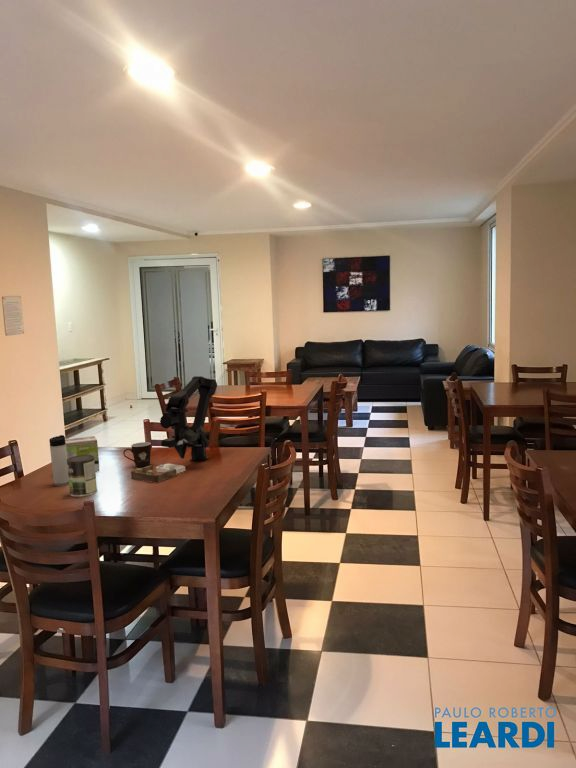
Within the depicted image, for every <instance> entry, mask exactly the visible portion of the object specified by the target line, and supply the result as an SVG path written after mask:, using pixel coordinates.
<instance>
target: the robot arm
mask: <svg viewBox="0 0 576 768" xmlns="http://www.w3.org/2000/svg"><path fill="white" fill-rule="evenodd" d="M217 387H218V382H217V381H216V379H211V378H207V377H204V376H202V375H201V376H200V375H199V376H197V375H196V376H193V377H192V378H191V380H190V381H189V382H188V383H187V384H185V386H184V387H183V388H182V389H181V390H180V391H177V392H175V393H173V394H172V395H170V397H169V398H168V401H167V404H166V408H165V411H164V412H163V413H162V414H163V415H162V416H161V417H160V419H159V423H160V425H161V427H162V428H163V429H166V430H167V429H170V428H171V430H173V435H171V438H169V437H168V438H165V439H162V440H161V442H160V443H161V445H160V446H161V447H165V448H174V449H175V451H176V452H177V454H178V455H179V457H180V459H185V456H186V451H187V448H190V450H191V451H190V455H191V456H190V457H191V458H190V459H189V461H192V462H199V463H201V462H204V461H205V460H208V459H210V458H209V457H207V448H208V447H209V445H210V441H209V439H208V438H207V437H206V430H205V428H204V427H205V422H206V417H207V413H208V409H209V406H210V400H211V398H212V397H213V396H214V395H215V394H216V391H217ZM196 392H198V394H199V398H198V402H197V407H196V410H195V415H194V419H193V422H192V425H191V426H189V425H188V424H187V417H186V416H187V415H186V414H187V413H188V412H189V410H188V408H186V407H188V404H189V403H190V398H191V397H192V396H193V395H194V394H195V393H196Z"/></svg>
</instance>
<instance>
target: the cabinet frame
mask: <svg viewBox="0 0 576 768" xmlns="http://www.w3.org/2000/svg"><path fill="white" fill-rule="evenodd" d="M130 475H131V479H132V478H134V479H133V480H137V479H139V480H138V481H143V480H144V481H143V482H148V481H152V482H151V483H154V482H159V481H161V482H163V481H162V480H164V479H167V478H170V479H172V478H171V477H173V478H175V477H177V475H178V474H176V469H172V470H169V471H166V472H163V473H158V474H155V470H154V465H152V464H150V466H147V467H144V468H135V469H134V470H131V471H130ZM174 476H175V477H174ZM167 480H168V479H167ZM164 481H165V480H164ZM159 483H160V482H159Z"/></svg>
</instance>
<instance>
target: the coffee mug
mask: <svg viewBox="0 0 576 768" xmlns="http://www.w3.org/2000/svg"><path fill="white" fill-rule="evenodd" d="M130 446H131V448H125V449H124V450H123V453H122V454H123V456H124V457H125V458H126V459H128V460H130V461H133V463H134V464H135V465H134V466H135V468H136V467H137V468H140V469H141V468H144V467H147V466H150V465H151V452H152V451H151V446H152V443H151V442H145V441H141V442H136V443H132V444H131V445H130ZM127 451H131V454H132V456H133V458H130V457H129V456H127V455H126V454H125V453H126V452H127ZM137 468H136V469H137Z"/></svg>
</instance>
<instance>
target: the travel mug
mask: <svg viewBox="0 0 576 768" xmlns="http://www.w3.org/2000/svg"><path fill="white" fill-rule="evenodd" d="M65 440H66V436H65V435H63V434H60V435H58V436H57V435H56V436H53V437H51V438H49V450H50V451H49V453H50V458H51V468H52V469H51V470H52V478H53V485H54V486H56V487H61V486H66V485H69V475H68V466H67V450H66V442H65Z"/></svg>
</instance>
